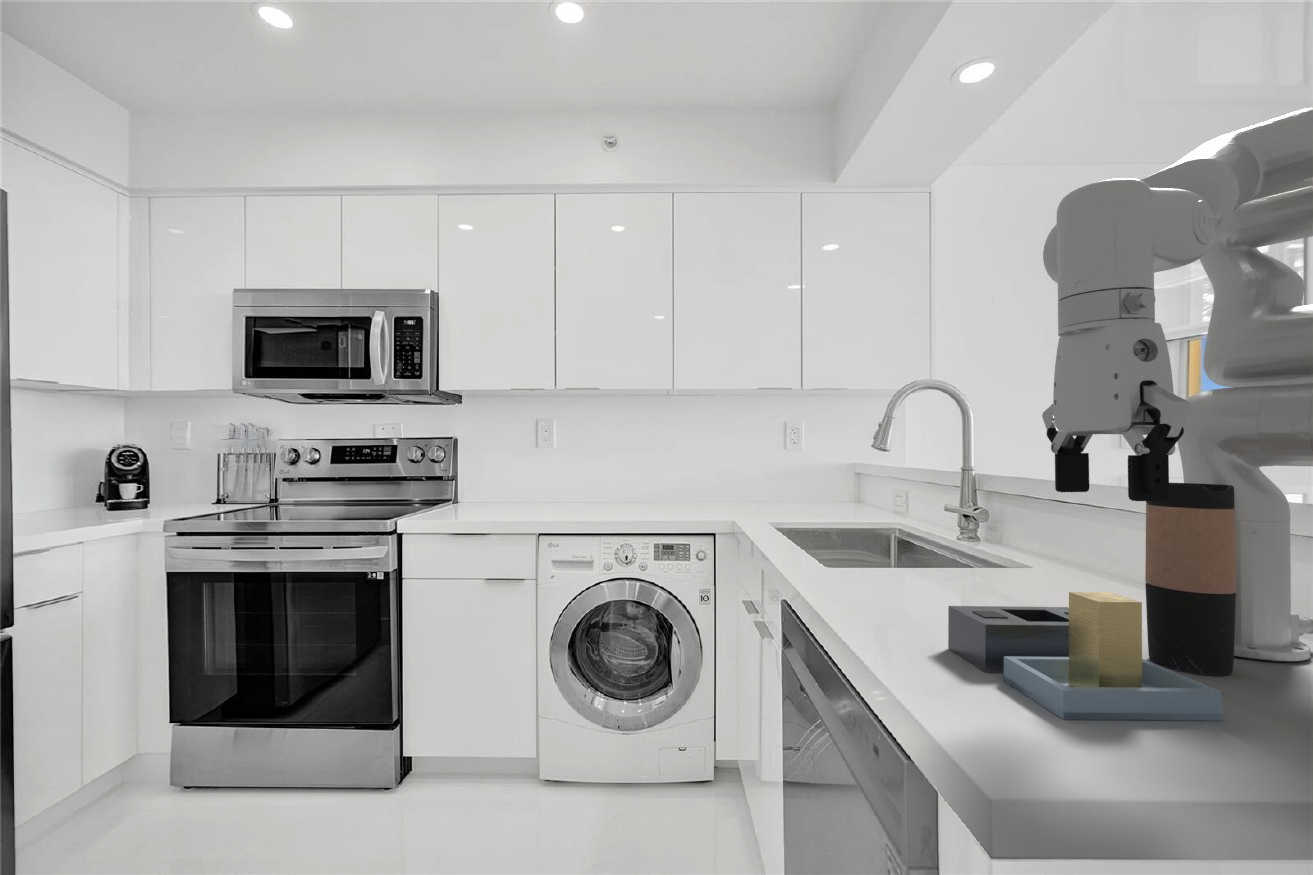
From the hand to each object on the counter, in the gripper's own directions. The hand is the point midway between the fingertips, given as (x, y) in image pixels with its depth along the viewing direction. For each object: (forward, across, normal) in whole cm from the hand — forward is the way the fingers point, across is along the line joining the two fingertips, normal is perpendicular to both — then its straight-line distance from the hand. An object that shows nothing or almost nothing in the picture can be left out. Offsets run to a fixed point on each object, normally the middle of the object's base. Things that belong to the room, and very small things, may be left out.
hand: (1107, 495), depth 59 cm
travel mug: (+20, +9, -16) cm, 27 cm away
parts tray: (+19, -1, +1) cm, 19 cm away
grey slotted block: (+19, +10, 0) cm, 22 cm away
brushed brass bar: (+18, -1, +1) cm, 19 cm away
